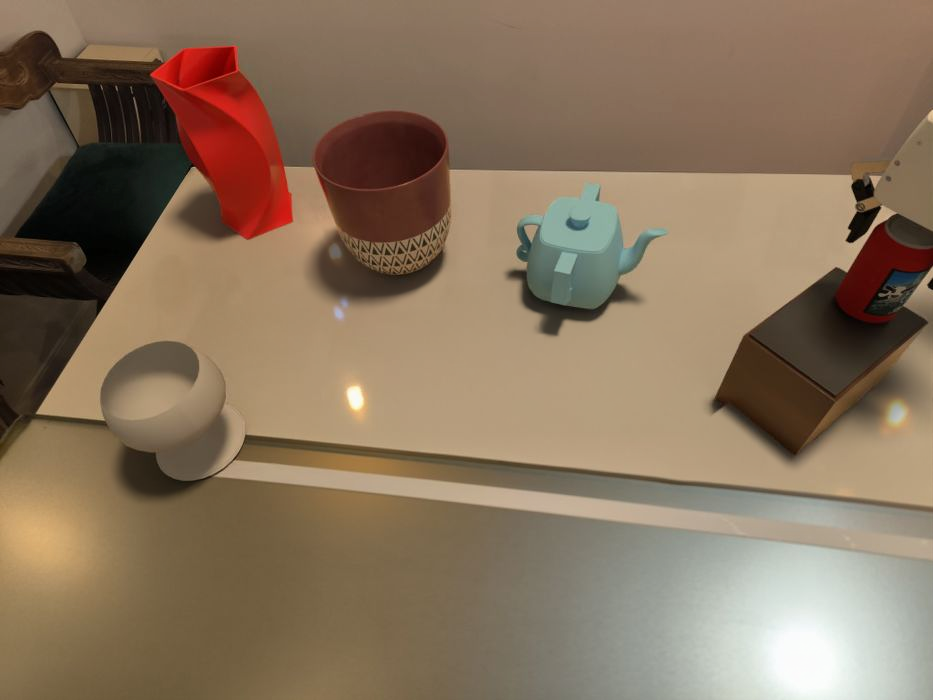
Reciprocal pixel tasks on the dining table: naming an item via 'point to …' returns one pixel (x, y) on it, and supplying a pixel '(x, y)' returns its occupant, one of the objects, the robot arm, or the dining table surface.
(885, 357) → the riser
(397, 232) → the planter
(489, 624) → the dining table surface
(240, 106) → the vase
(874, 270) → the beverage can
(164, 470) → the chalice
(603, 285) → the teapot
